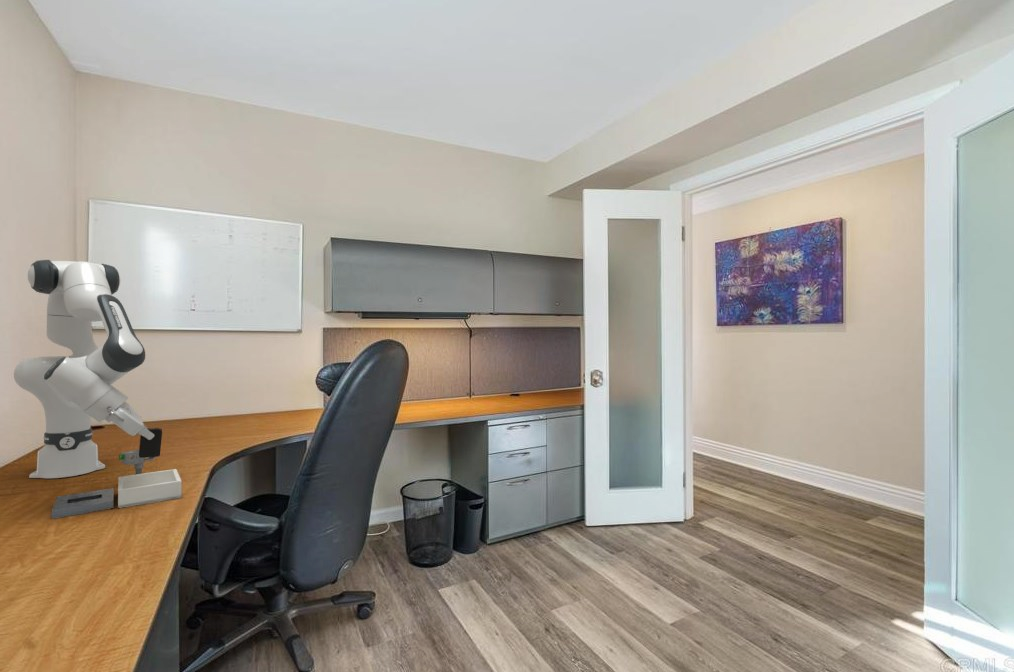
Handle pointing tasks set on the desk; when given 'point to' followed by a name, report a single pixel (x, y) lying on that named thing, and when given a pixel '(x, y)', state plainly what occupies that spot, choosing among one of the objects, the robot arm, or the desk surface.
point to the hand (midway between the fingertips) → (152, 436)
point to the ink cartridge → (151, 444)
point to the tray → (148, 488)
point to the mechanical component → (134, 460)
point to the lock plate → (83, 503)
